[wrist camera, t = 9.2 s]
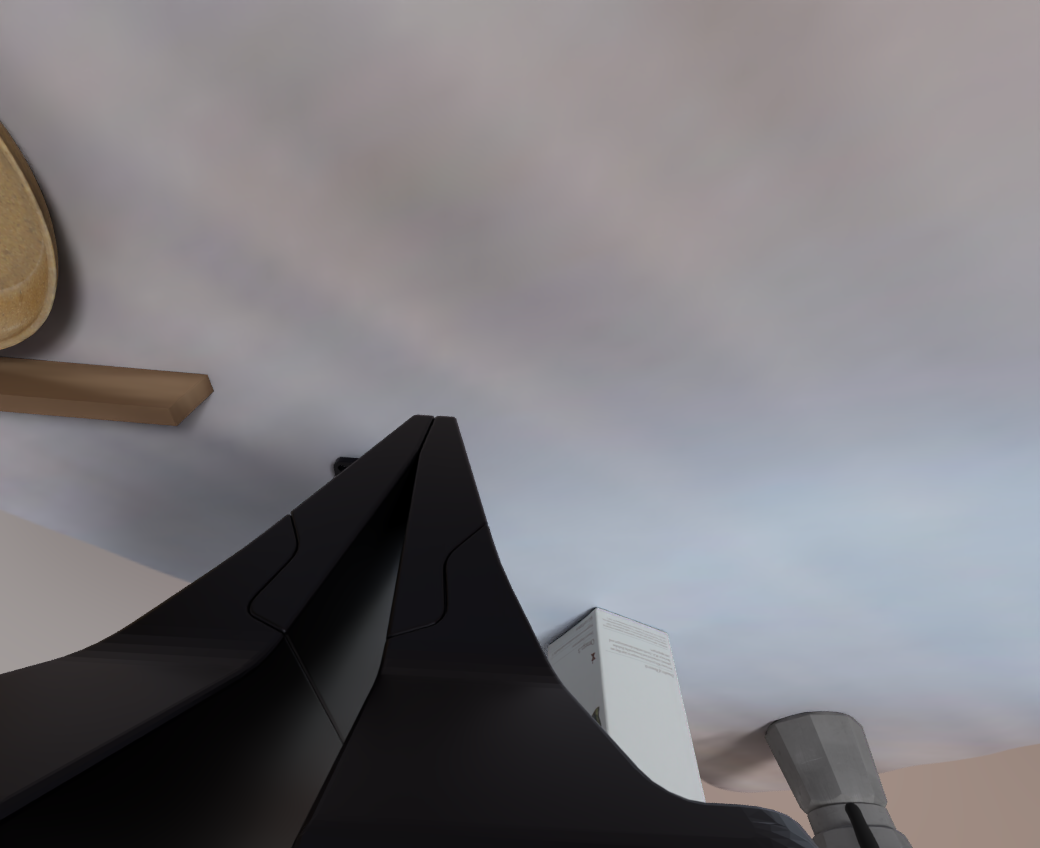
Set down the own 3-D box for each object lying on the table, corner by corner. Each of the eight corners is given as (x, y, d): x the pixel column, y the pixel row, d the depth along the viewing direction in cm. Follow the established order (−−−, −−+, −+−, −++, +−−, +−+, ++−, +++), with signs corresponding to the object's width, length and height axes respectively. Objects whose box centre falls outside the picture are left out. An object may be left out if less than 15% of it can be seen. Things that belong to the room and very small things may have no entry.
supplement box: (595, 603, 34) (618, 819, 24) (670, 631, 36) (719, 841, 26) (544, 644, 38) (545, 844, 28) (614, 667, 40) (639, 861, 30)
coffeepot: (861, 745, 49) (993, 1017, 35) (769, 754, 52) (857, 1011, 37) (861, 686, 41) (1035, 1011, 27) (752, 700, 43) (857, 1004, 29)
